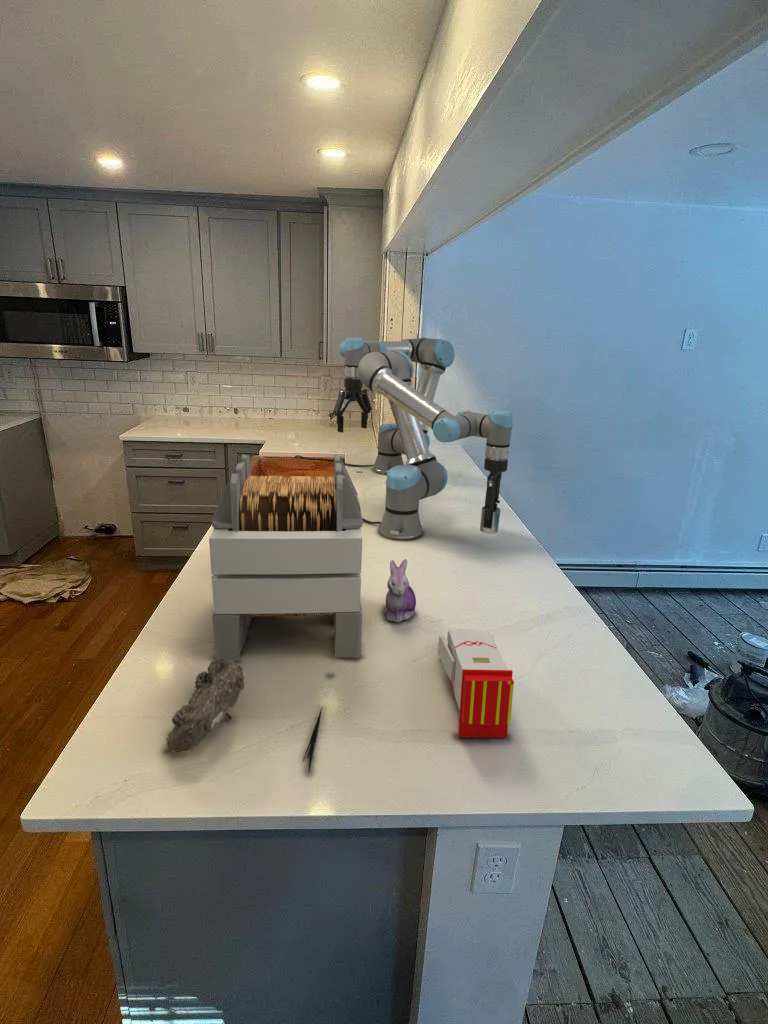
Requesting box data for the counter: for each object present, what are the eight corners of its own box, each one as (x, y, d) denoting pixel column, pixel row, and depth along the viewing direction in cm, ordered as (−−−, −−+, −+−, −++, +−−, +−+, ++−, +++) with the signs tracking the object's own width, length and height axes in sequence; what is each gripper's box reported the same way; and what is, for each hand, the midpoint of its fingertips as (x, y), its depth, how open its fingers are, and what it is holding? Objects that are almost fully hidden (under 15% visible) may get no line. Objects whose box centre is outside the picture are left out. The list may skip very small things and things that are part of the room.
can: (477, 531, 192) (479, 509, 189) (482, 526, 197) (485, 504, 194) (495, 535, 189) (497, 513, 187) (500, 529, 195) (502, 507, 192)
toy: (488, 613, 130) (523, 677, 101) (484, 667, 133) (517, 744, 104) (435, 612, 130) (455, 676, 101) (432, 666, 133) (451, 743, 103)
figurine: (392, 627, 141) (395, 572, 136) (374, 608, 149) (376, 556, 144) (425, 619, 145) (429, 566, 140) (405, 601, 154) (408, 550, 149)
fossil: (192, 660, 117) (244, 628, 112) (224, 691, 120) (276, 661, 115) (142, 746, 98) (202, 712, 93) (182, 779, 101) (242, 748, 96)
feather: (331, 679, 122) (336, 673, 122) (307, 777, 96) (313, 769, 95) (324, 675, 122) (329, 669, 121) (298, 772, 95) (304, 764, 95)
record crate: (234, 590, 156) (226, 444, 142) (353, 588, 159) (357, 447, 146) (212, 662, 124) (200, 485, 110) (361, 659, 128) (367, 486, 114)
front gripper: (503, 466, 175) (495, 535, 183) (512, 453, 192) (505, 517, 200) (479, 463, 177) (472, 531, 185) (490, 450, 194) (483, 514, 202)
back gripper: (337, 380, 217) (336, 435, 224) (381, 377, 234) (379, 427, 242) (324, 378, 222) (323, 432, 229) (368, 375, 239) (366, 424, 246)
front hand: (489, 524), depth 192 cm, fingers closed on can, 6 cm apart
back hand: (352, 430), depth 235 cm, fingers open, 13 cm apart
